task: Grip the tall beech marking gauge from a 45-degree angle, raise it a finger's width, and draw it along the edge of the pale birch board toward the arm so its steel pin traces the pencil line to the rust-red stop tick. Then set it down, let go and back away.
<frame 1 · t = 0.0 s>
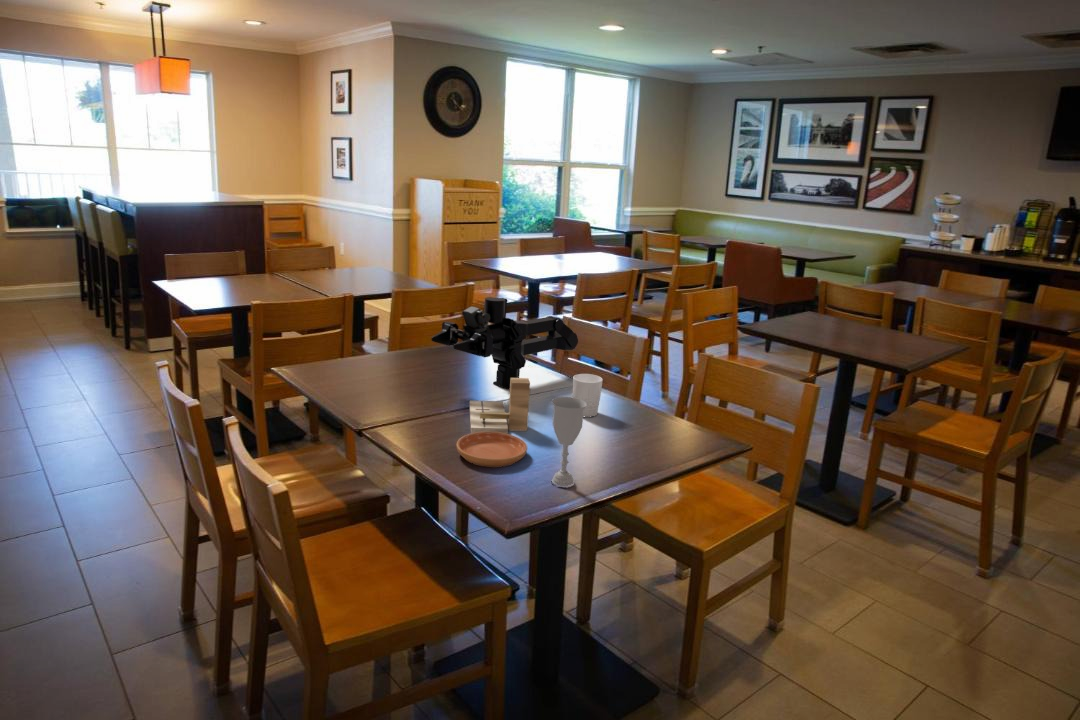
hand: (442, 343, 191), 17 cm above the table, tool horizontal, fingers open, 9 cm apart
white cup: (584, 414, 194), on the table
birch board: (487, 419, 185), on the table
saucer: (491, 457, 163), on the table
marking gauge: (517, 427, 181), on the table
chalice: (562, 483, 152), on the table
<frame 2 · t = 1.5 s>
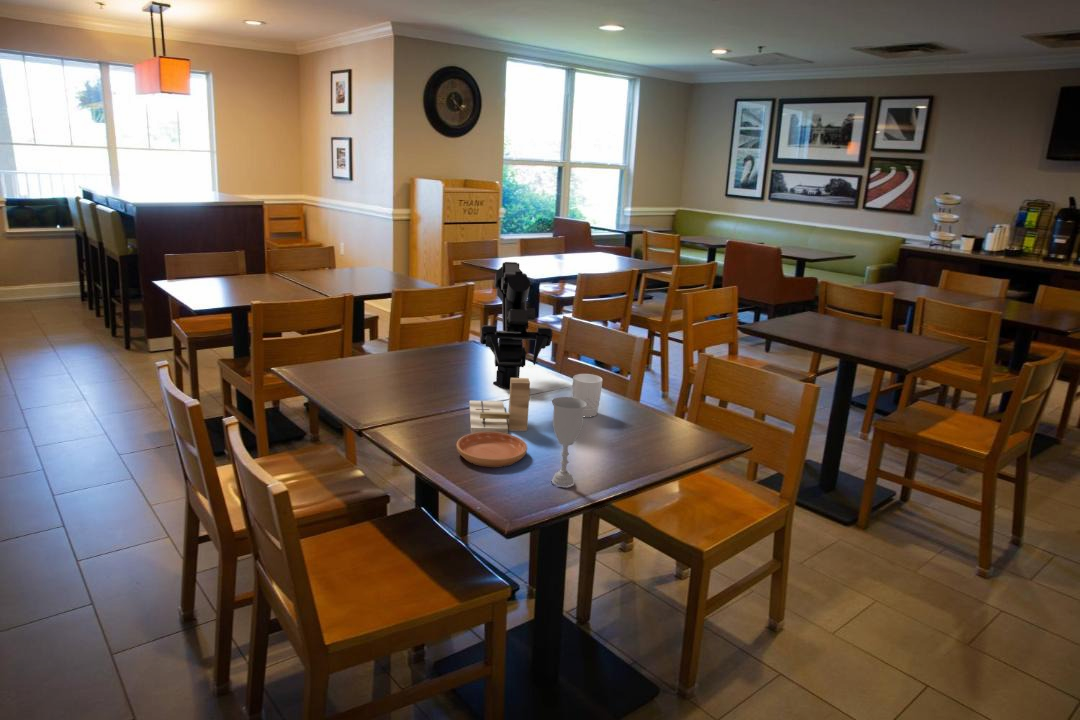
hand: (516, 363, 186), 14 cm above the table, tool tilted 45°, fingers open, 9 cm apart
nothing on the table moved.
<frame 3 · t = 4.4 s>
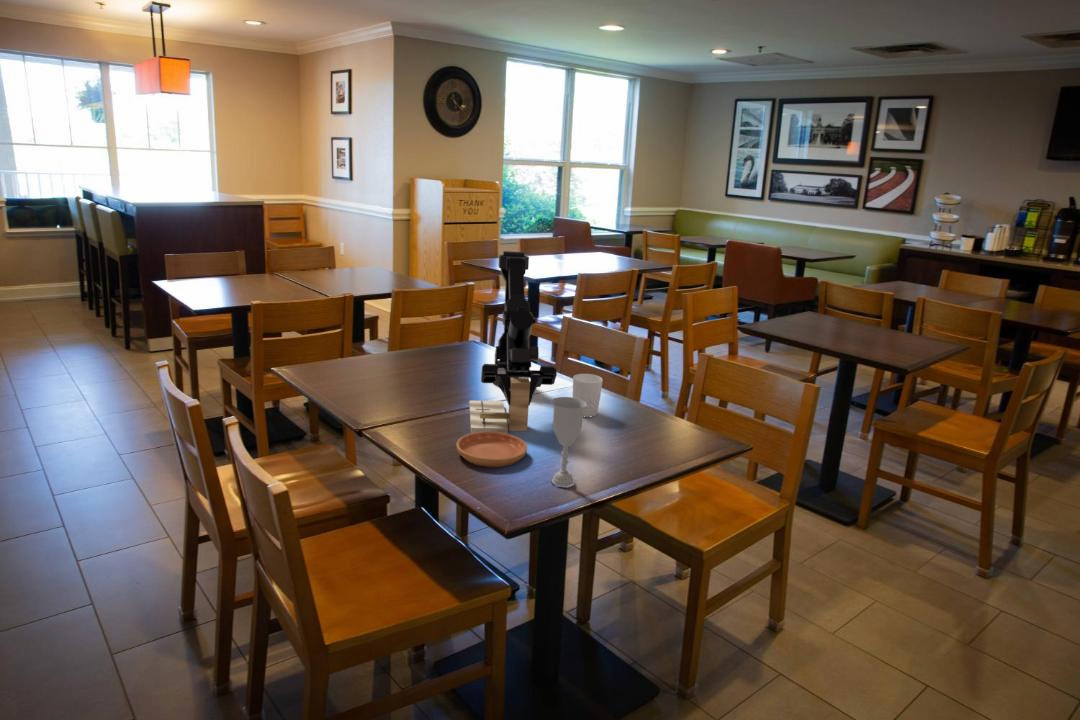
hand: (519, 404, 177), 7 cm above the table, tool tilted 45°, fingers closed on marking gauge, 4 cm apart
marking gauge: (517, 427, 181), on the table, touching gripper
everything else where it was.
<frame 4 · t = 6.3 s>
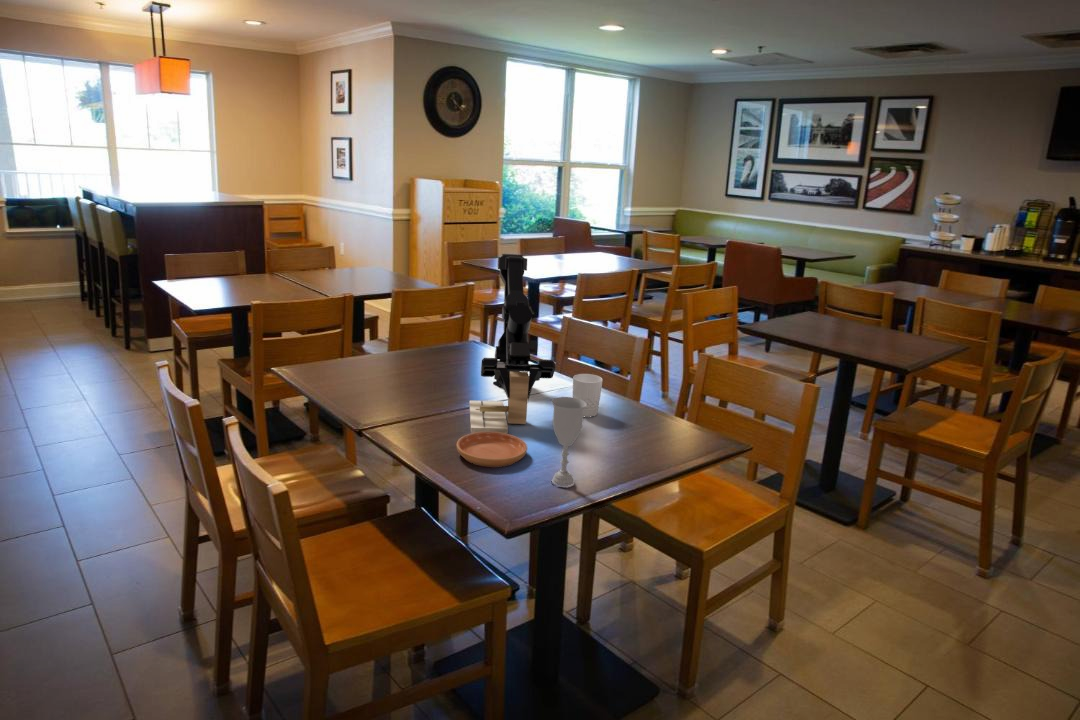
hand: (518, 398, 180), 7 cm above the table, tool tilted 45°, fingers closed on marking gauge, 4 cm apart
marking gauge: (516, 420, 183), point 1 cm above the table, touching gripper
everything else where it was.
when the fingers open (7 cm above the table, at t = 8.2 s): marking gauge stays where it is, on the table.
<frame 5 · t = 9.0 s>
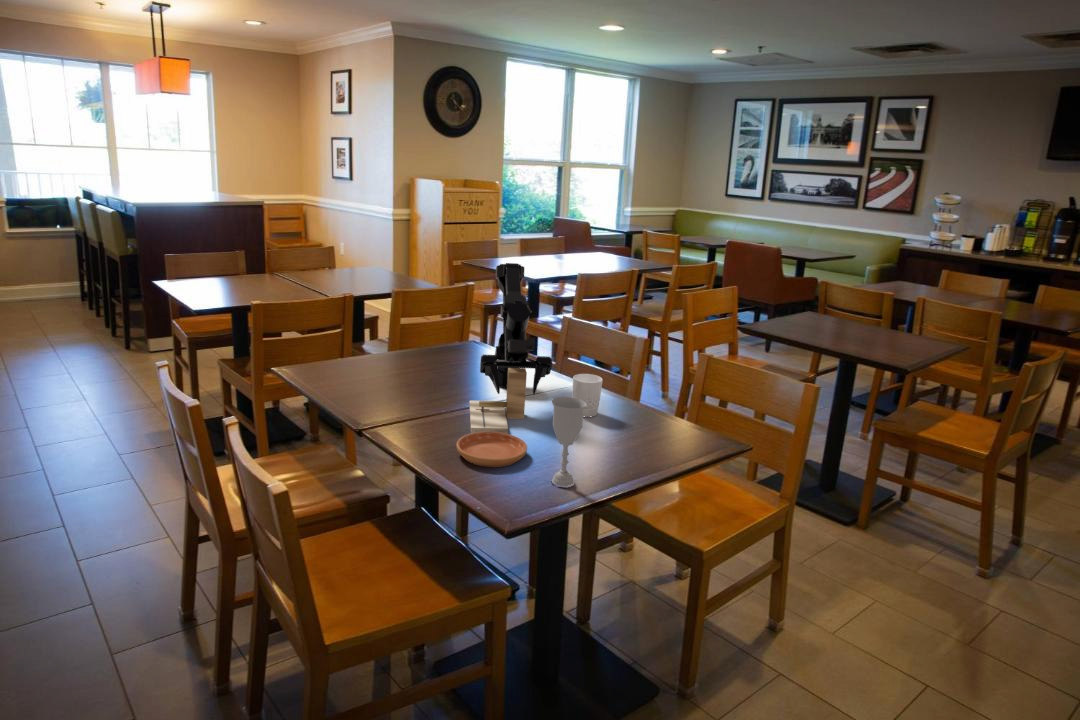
hand: (516, 393, 186), 7 cm above the table, tool tilted 45°, fingers open, 9 cm apart
marking gauge: (514, 415, 189), on the table
everything else where it was.
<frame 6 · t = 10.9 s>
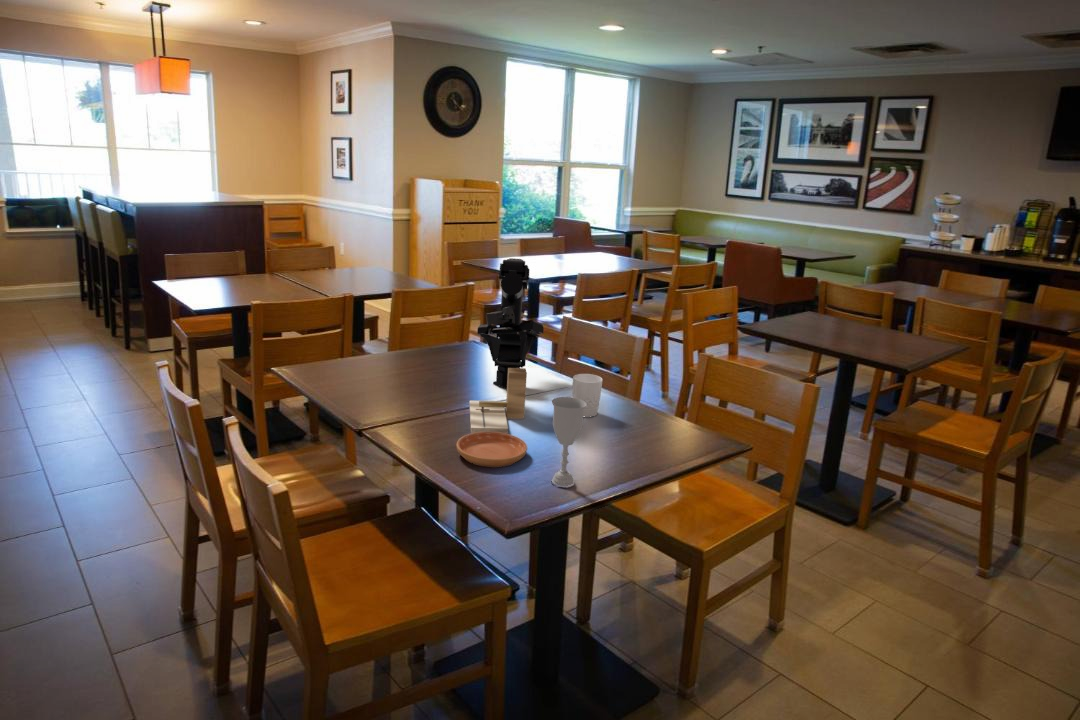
hand: (508, 360, 194), 12 cm above the table, tool tilted 25°, fingers open, 9 cm apart
nothing on the table moved.
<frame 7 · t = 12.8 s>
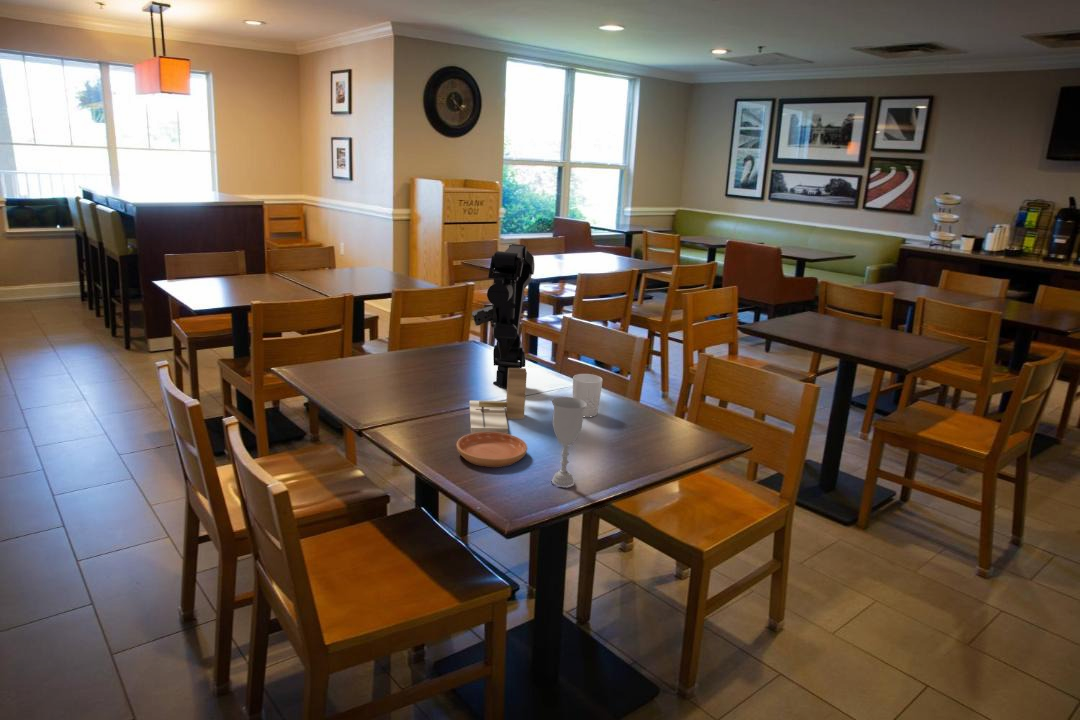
hand: (501, 354, 197), 13 cm above the table, tool pointing down, fingers open, 9 cm apart
nothing on the table moved.
at the end: marking gauge 0.1 cm from the target spot, on the table; marking gauge tilted 0°; the gripper is holding nothing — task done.
